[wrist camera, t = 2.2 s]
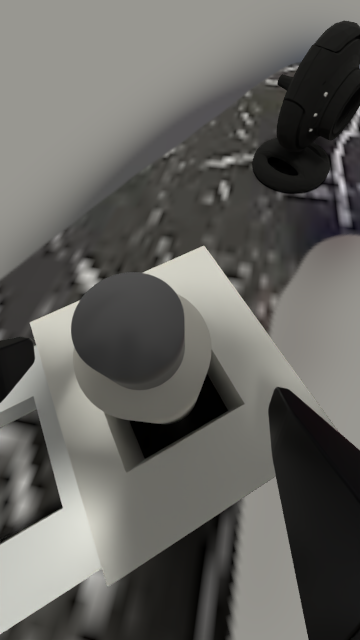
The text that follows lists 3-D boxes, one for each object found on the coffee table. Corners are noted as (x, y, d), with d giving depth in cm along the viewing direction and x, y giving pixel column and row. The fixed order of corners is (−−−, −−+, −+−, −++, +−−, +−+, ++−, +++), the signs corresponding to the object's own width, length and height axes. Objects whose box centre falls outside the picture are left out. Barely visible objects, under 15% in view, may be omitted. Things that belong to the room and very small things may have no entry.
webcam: (295, 207, 23) (366, 63, 14) (235, 170, 25) (263, 25, 16) (341, 169, 25) (429, 20, 16) (282, 137, 27) (329, -7, 18)
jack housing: (294, 431, 15) (339, 434, 11) (-76, 666, 12) (-246, 819, 7) (200, 287, 20) (204, 245, 15) (-90, 424, 16) (-200, 423, 12)
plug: (209, 404, 16) (257, 356, 5) (152, 437, 15) (66, 461, 4) (179, 350, 18) (168, 225, 7) (126, 378, 17) (16, 287, 6)
